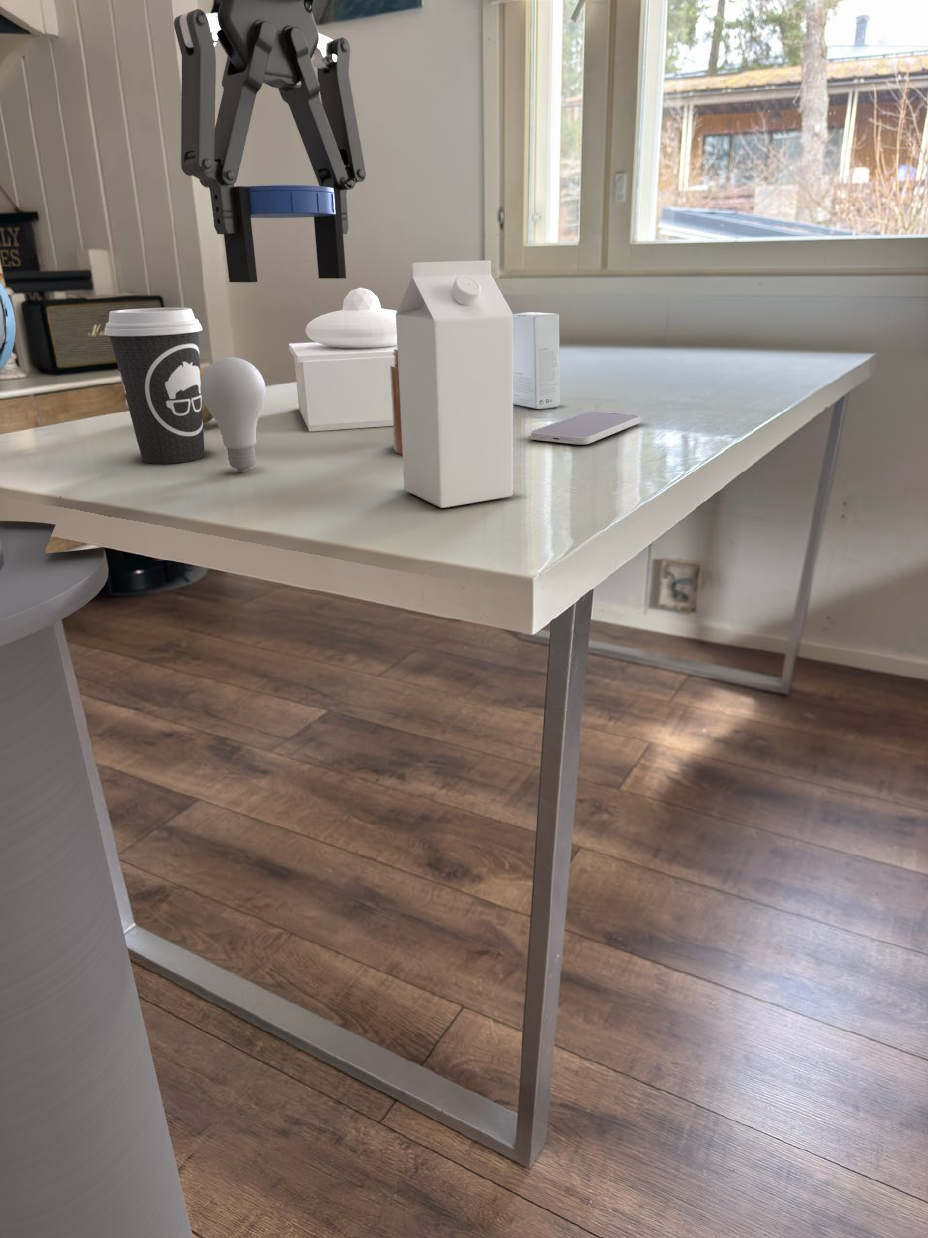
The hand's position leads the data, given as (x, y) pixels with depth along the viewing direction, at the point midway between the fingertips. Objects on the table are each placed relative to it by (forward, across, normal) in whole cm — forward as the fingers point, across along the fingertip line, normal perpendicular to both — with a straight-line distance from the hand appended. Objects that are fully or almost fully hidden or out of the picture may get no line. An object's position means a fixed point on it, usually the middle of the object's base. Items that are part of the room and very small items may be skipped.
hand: (289, 279), depth 69 cm
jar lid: (-6, 0, 0) cm, 6 cm away
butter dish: (+18, +31, +28) cm, 46 cm away
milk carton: (+18, +9, -10) cm, 22 cm away
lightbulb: (+18, +2, +14) cm, 23 cm away
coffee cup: (+18, +1, +26) cm, 31 cm away
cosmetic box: (+18, +50, +15) cm, 55 cm away
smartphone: (+18, +39, -2) cm, 43 cm away
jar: (+18, +21, +6) cm, 28 cm away
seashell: (+18, +13, +42) cm, 48 cm away
